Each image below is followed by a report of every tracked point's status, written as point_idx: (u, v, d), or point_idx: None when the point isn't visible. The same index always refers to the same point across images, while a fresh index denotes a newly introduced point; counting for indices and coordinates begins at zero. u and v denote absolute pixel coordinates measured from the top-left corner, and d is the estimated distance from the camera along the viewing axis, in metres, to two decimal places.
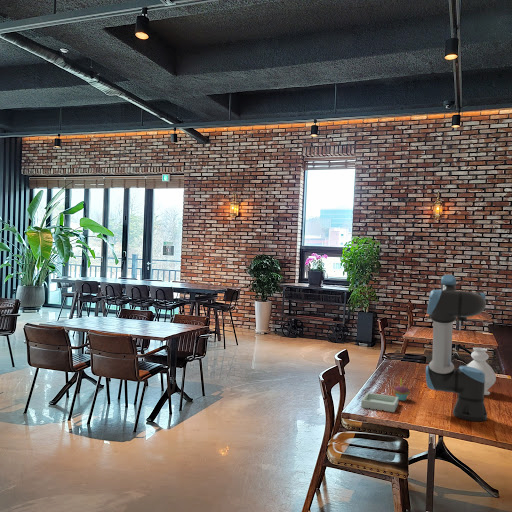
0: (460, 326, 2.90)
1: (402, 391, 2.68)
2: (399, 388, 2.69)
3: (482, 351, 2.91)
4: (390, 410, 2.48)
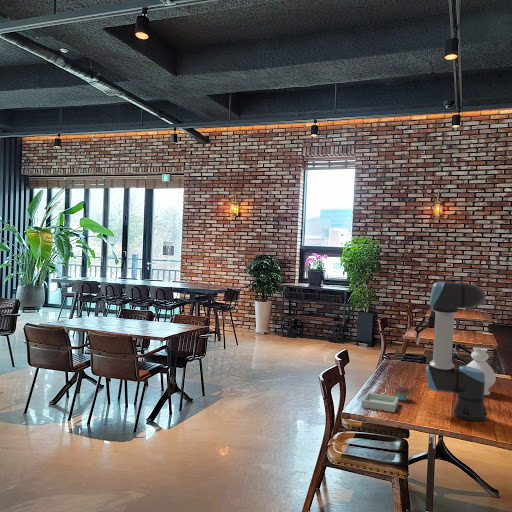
0: None
1: (402, 391, 2.68)
2: (399, 388, 2.69)
3: (482, 351, 2.91)
4: (390, 410, 2.48)
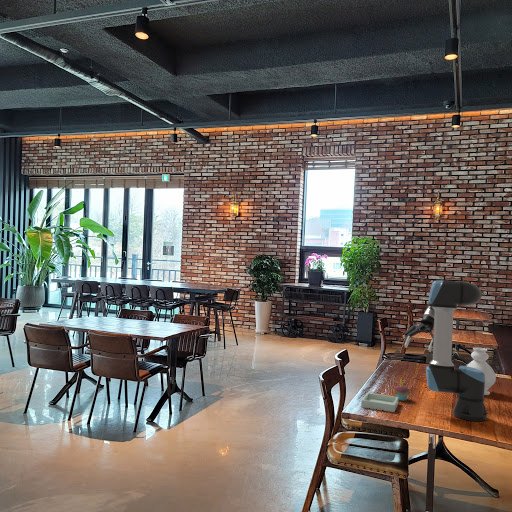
0: (431, 344, 2.78)
1: (402, 391, 2.68)
2: (399, 388, 2.69)
3: (482, 351, 2.91)
4: (390, 410, 2.48)
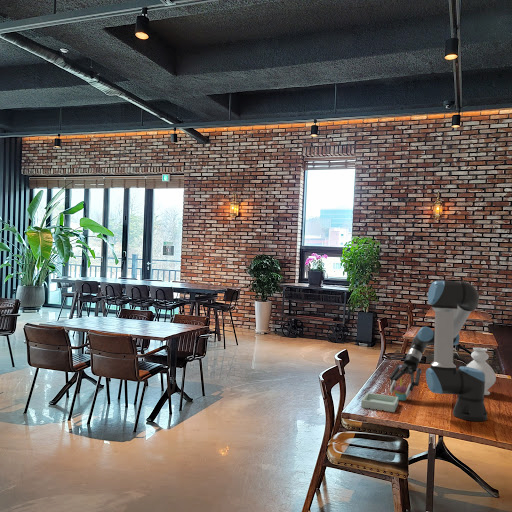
0: (408, 388, 2.67)
1: (402, 391, 2.68)
2: (399, 388, 2.69)
3: (482, 351, 2.91)
4: (390, 410, 2.48)
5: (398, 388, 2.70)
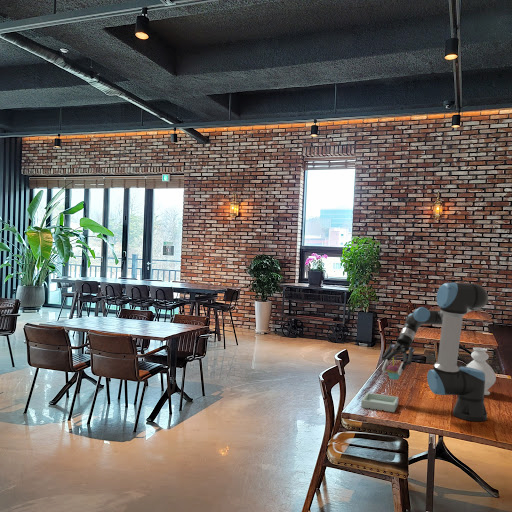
0: (400, 367, 2.64)
1: (394, 370, 2.65)
2: (391, 367, 2.66)
3: (482, 351, 2.91)
4: (390, 410, 2.48)
5: (390, 367, 2.67)
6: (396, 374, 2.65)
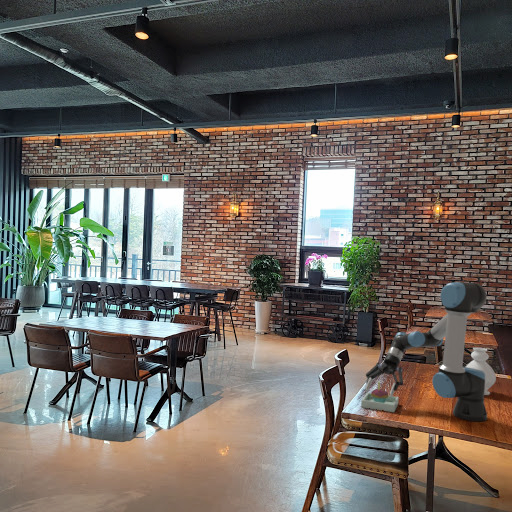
0: (392, 388, 2.53)
1: (380, 395, 2.54)
2: (377, 391, 2.56)
3: (482, 351, 2.91)
4: (390, 410, 2.48)
5: (376, 392, 2.56)
6: (382, 399, 2.55)
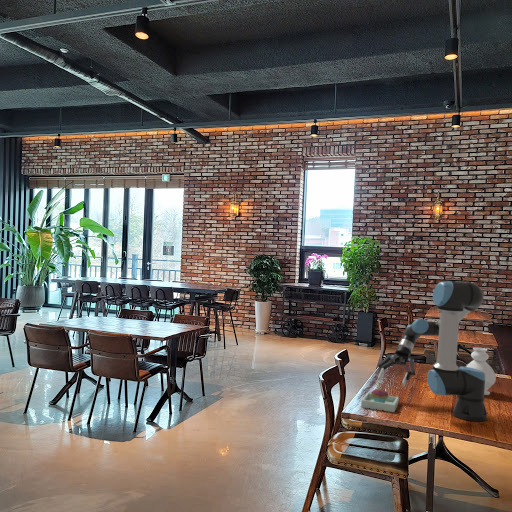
0: (405, 377, 2.63)
1: (380, 395, 2.54)
2: (377, 392, 2.56)
3: (482, 351, 2.91)
4: (390, 410, 2.48)
5: (376, 392, 2.56)
6: (382, 399, 2.55)
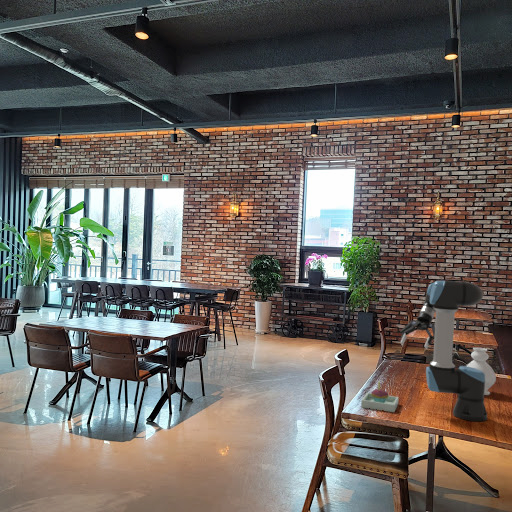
0: (427, 341, 2.73)
1: (380, 395, 2.54)
2: (377, 392, 2.56)
3: (482, 351, 2.91)
4: (390, 410, 2.48)
5: (376, 392, 2.56)
6: (382, 399, 2.55)
